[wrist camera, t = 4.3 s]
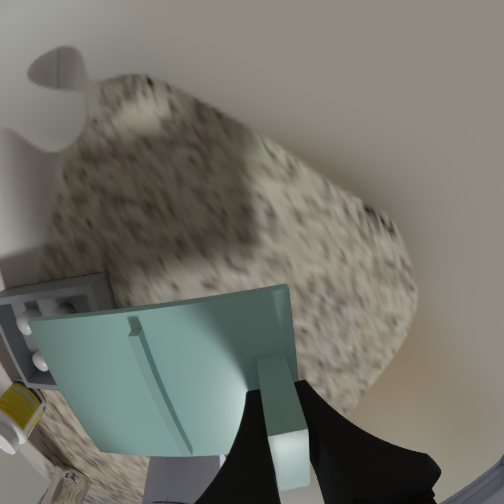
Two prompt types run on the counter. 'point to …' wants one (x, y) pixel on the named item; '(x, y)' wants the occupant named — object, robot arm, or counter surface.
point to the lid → (182, 375)
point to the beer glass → (66, 486)
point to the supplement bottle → (19, 415)
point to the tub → (46, 304)
